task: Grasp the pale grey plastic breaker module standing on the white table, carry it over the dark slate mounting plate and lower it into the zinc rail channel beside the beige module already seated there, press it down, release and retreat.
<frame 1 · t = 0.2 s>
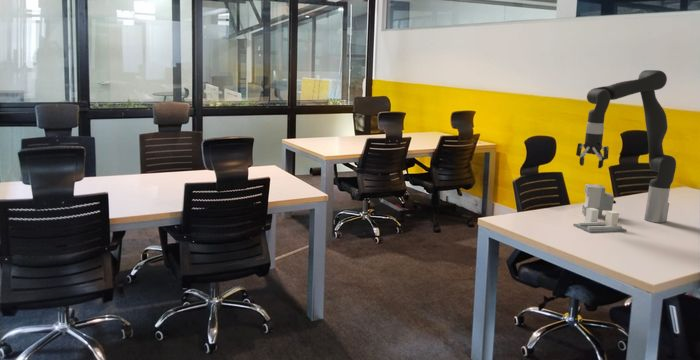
hand: (590, 166, 286), 28 cm above the table, fingers open, 8 cm apart
rail plate: (599, 228, 284), on the table
circuit breaker: (597, 215, 310), on the table
module: (590, 223, 293), on the table
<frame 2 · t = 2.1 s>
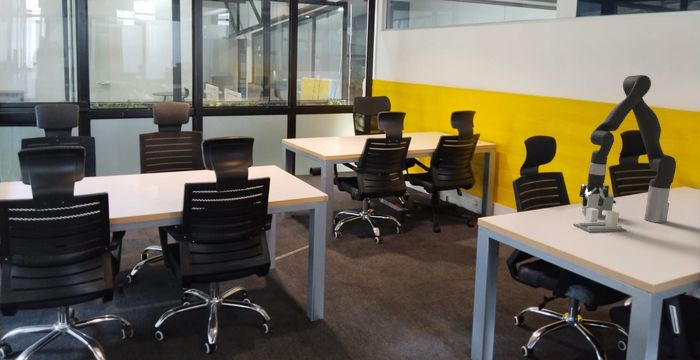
hand: (592, 206, 292), 8 cm above the table, fingers open, 8 cm apart
nothing on the table moved.
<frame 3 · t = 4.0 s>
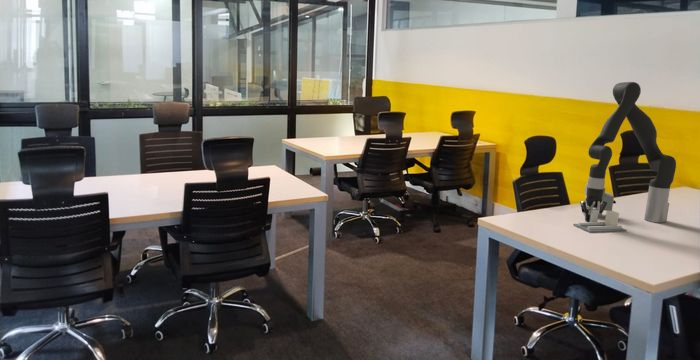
hand: (591, 221, 293), 1 cm above the table, fingers closed on module, 3 cm apart
module: (590, 223, 293), on the table, touching gripper
everything else where it was.
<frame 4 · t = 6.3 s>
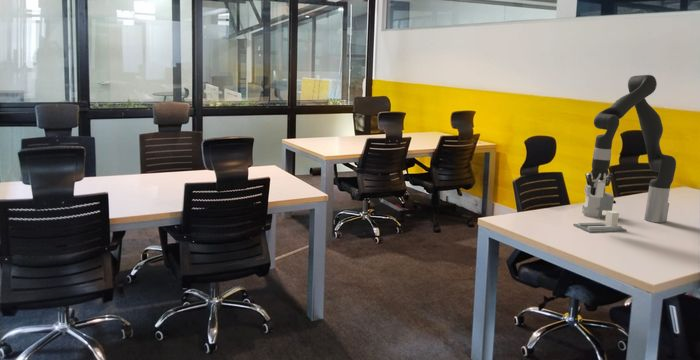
hand: (596, 194, 280), 16 cm above the table, fingers closed on module, 3 cm apart
module: (596, 196, 280), point 15 cm above the table, touching gripper
everything else where it was.
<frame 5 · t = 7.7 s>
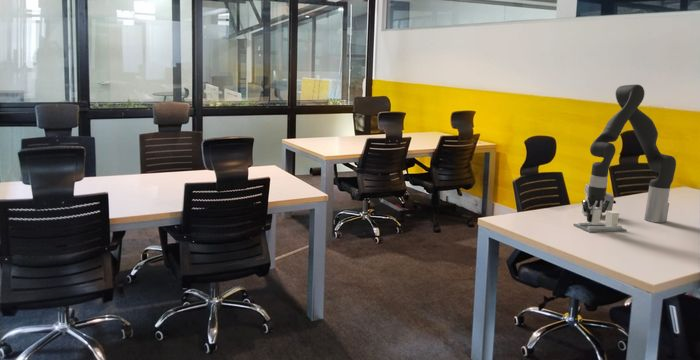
hand: (593, 221, 283), 3 cm above the table, fingers closed on module, 3 cm apart
module: (592, 223, 283), point 3 cm above the table, touching gripper
everything else where it was.
when the fingers open (2 cm above the table, at t = 9.0 s): module stays where it is, resting on rail plate.
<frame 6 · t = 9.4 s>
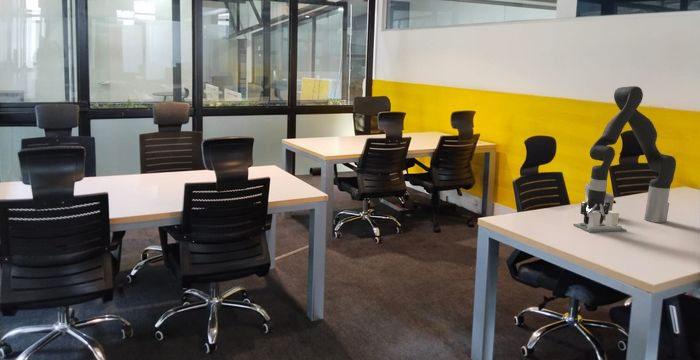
hand: (593, 223, 283), 2 cm above the table, fingers open, 7 cm apart
module: (592, 227, 283), point 1 cm above the table, touching rail plate
everything else where it was.
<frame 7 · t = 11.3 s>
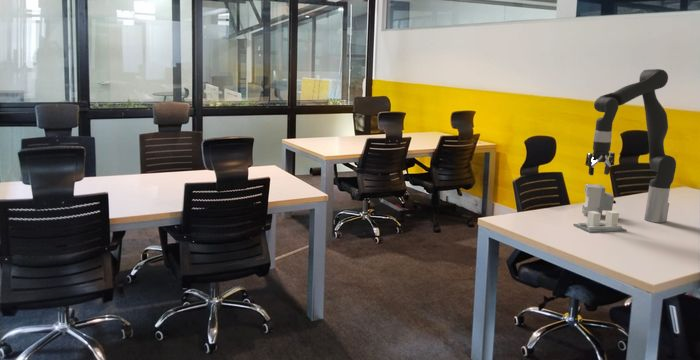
hand: (598, 174, 286), 24 cm above the table, fingers open, 8 cm apart
nothing on the table moved.
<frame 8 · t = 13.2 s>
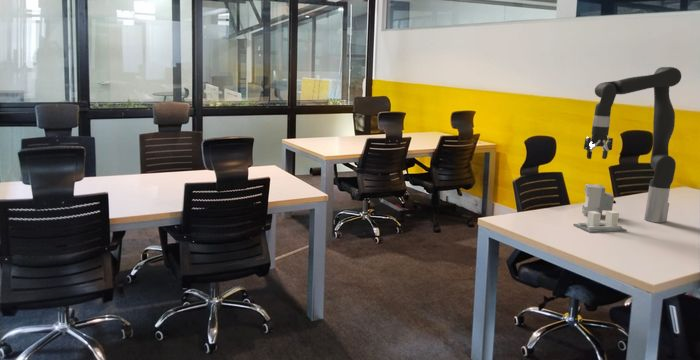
hand: (596, 158, 295), 30 cm above the table, fingers open, 8 cm apart
nothing on the table moved.
at the end: module 0.6 cm from the target spot on the rail plate, point 0.8 cm above the rail plate's base; module tilted 0°; the gripper is holding nothing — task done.
